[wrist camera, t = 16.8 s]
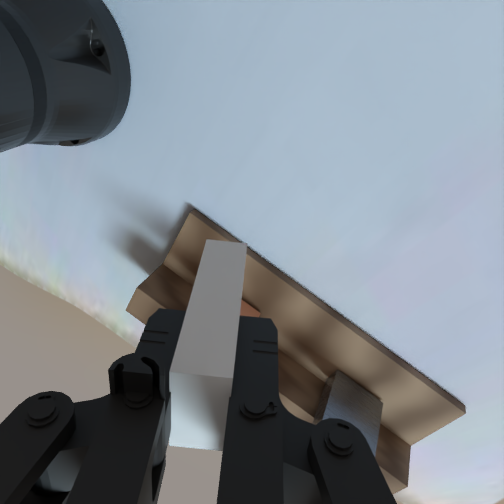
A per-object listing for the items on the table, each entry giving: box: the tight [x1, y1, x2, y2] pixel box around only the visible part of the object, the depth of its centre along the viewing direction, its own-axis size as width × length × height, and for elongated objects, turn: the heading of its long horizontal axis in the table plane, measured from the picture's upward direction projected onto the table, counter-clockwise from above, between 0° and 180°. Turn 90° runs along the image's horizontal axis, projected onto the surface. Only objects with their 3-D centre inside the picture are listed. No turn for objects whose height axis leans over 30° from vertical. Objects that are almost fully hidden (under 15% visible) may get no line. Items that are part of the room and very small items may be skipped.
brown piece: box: [126, 209, 466, 494], centre depth 45 cm, size 34×12×6 cm, turn 61°
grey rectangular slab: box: [312, 369, 383, 457], centre depth 42 cm, size 6×2×11 cm, turn 60°
